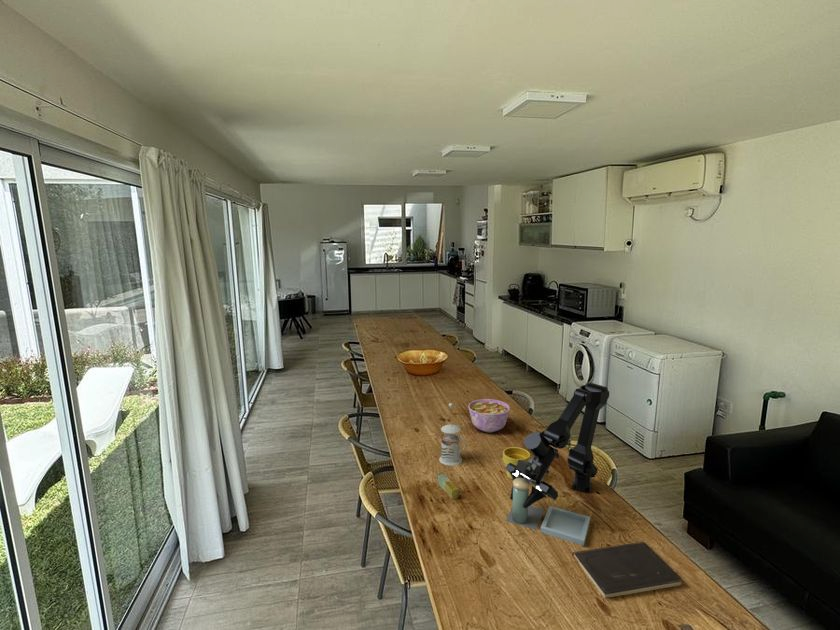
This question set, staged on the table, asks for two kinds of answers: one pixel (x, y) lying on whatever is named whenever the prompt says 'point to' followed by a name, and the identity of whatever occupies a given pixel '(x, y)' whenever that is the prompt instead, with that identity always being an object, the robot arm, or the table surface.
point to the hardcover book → (626, 569)
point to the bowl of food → (489, 414)
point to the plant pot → (514, 457)
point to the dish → (566, 525)
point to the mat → (529, 517)
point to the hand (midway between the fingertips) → (517, 503)
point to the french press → (453, 456)
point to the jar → (520, 500)
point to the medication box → (448, 486)
